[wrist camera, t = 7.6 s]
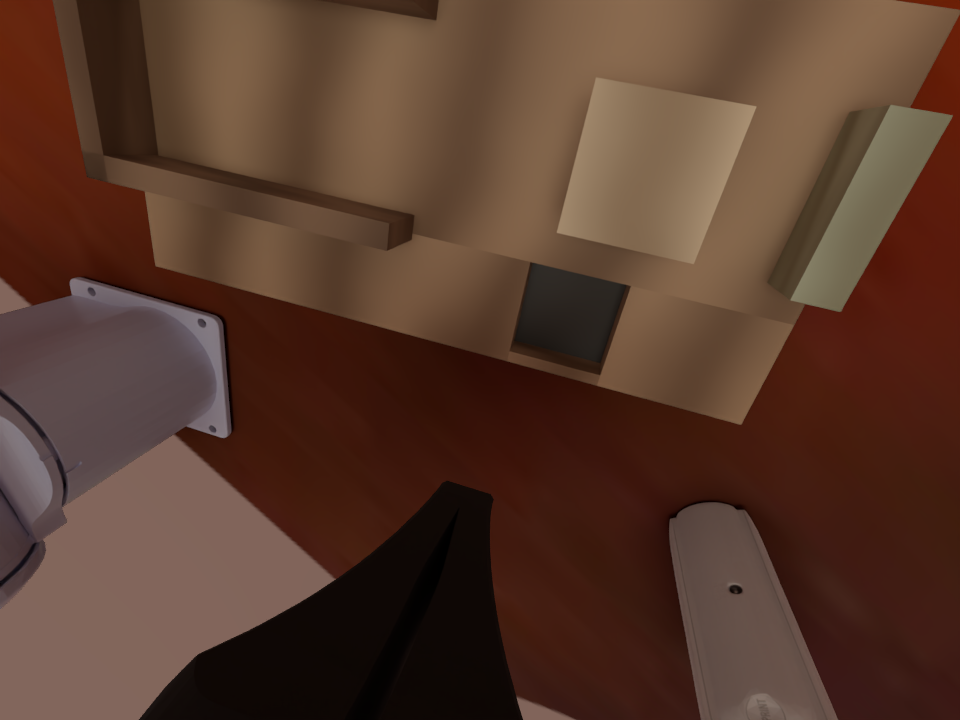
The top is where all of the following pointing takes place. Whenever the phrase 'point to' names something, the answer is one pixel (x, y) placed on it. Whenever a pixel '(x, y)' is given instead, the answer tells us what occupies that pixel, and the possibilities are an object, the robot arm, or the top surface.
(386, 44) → the board
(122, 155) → the cubby
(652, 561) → the top surface
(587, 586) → the top surface
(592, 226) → the cube
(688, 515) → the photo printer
